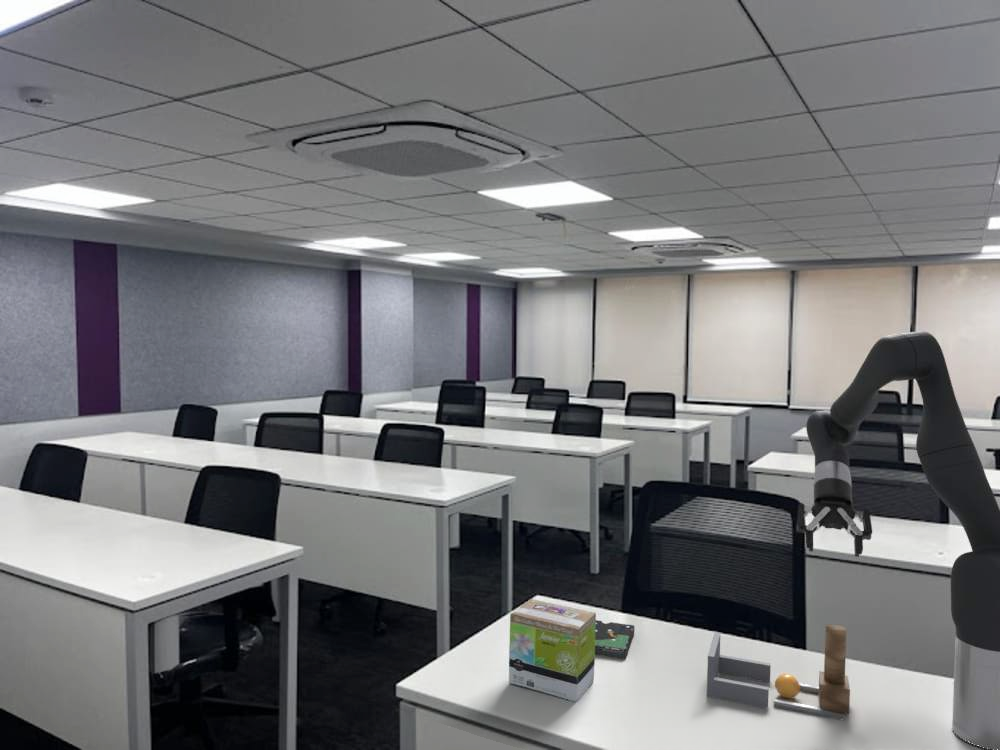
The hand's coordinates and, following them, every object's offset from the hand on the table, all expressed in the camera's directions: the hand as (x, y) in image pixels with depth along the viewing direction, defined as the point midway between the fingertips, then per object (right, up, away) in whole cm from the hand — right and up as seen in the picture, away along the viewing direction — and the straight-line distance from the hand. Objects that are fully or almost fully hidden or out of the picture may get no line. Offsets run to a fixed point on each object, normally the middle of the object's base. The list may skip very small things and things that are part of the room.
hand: (834, 552), depth 144 cm
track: (-9, -27, -8) cm, 29 cm away
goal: (-20, -27, -3) cm, 33 cm away
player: (-5, -27, -10) cm, 29 cm away
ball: (-12, -25, -7) cm, 28 cm away
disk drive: (-44, -26, +18) cm, 54 cm away
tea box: (-58, -26, -2) cm, 64 cm away
